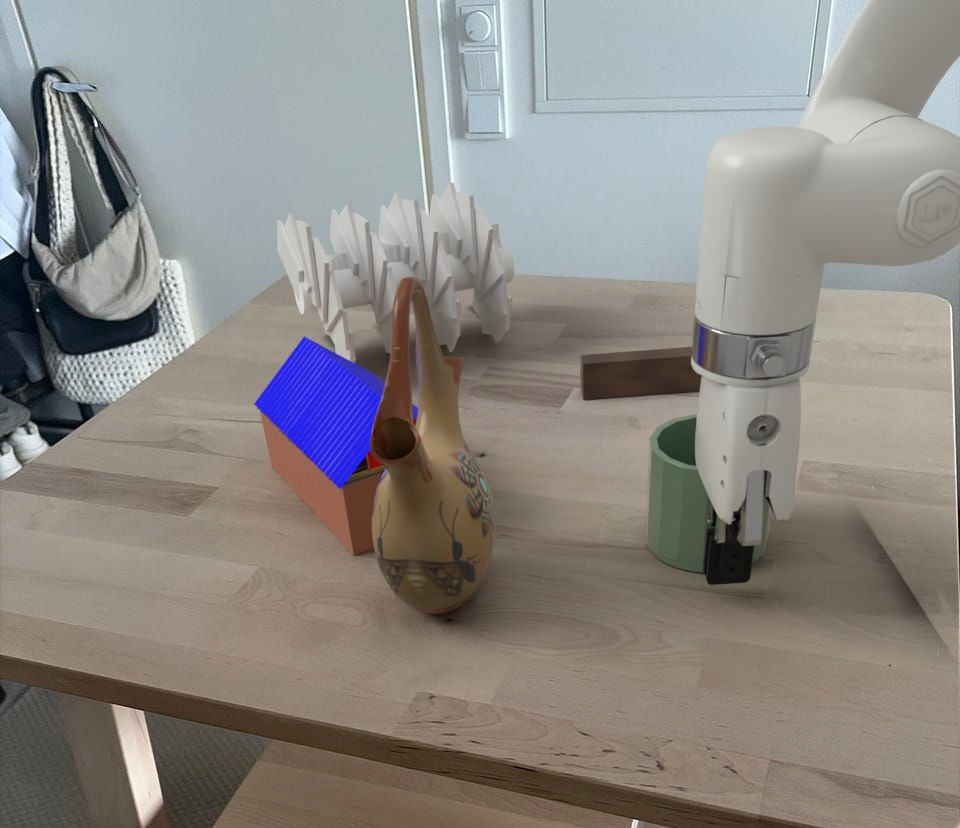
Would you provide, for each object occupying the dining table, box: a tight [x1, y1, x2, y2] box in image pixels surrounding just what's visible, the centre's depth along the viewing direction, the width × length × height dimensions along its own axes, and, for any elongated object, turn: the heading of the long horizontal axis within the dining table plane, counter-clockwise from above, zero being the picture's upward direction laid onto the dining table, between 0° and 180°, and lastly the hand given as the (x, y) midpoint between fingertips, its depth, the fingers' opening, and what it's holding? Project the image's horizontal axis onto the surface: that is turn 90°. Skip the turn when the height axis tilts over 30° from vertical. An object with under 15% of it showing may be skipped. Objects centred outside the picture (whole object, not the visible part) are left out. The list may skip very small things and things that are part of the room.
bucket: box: [644, 413, 773, 574], centre depth 82 cm, size 10×10×9 cm
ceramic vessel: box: [369, 277, 496, 615], centre depth 74 cm, size 16×9×25 cm, turn 169°
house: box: [253, 336, 469, 556], centre depth 92 cm, size 12×20×12 cm, turn 30°
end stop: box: [580, 346, 702, 401], centre depth 107 cm, size 14×2×4 cm, turn 92°
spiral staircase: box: [276, 182, 515, 364], centre depth 115 cm, size 18×18×25 cm
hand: (725, 577), depth 77 cm, fingers closed
